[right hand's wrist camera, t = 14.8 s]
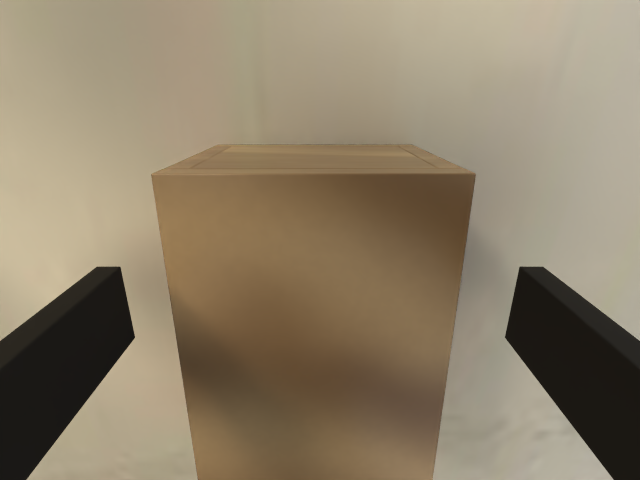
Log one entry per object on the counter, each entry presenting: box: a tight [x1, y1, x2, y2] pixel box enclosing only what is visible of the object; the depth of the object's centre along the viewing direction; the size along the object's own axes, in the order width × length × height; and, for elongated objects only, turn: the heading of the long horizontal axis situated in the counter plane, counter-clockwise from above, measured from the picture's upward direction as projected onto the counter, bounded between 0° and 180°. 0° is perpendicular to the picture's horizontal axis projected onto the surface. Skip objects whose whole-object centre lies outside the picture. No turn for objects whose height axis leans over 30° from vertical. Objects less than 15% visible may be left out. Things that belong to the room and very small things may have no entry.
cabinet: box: [151, 145, 476, 480], centre depth 19 cm, size 17×11×9 cm, turn 0°
